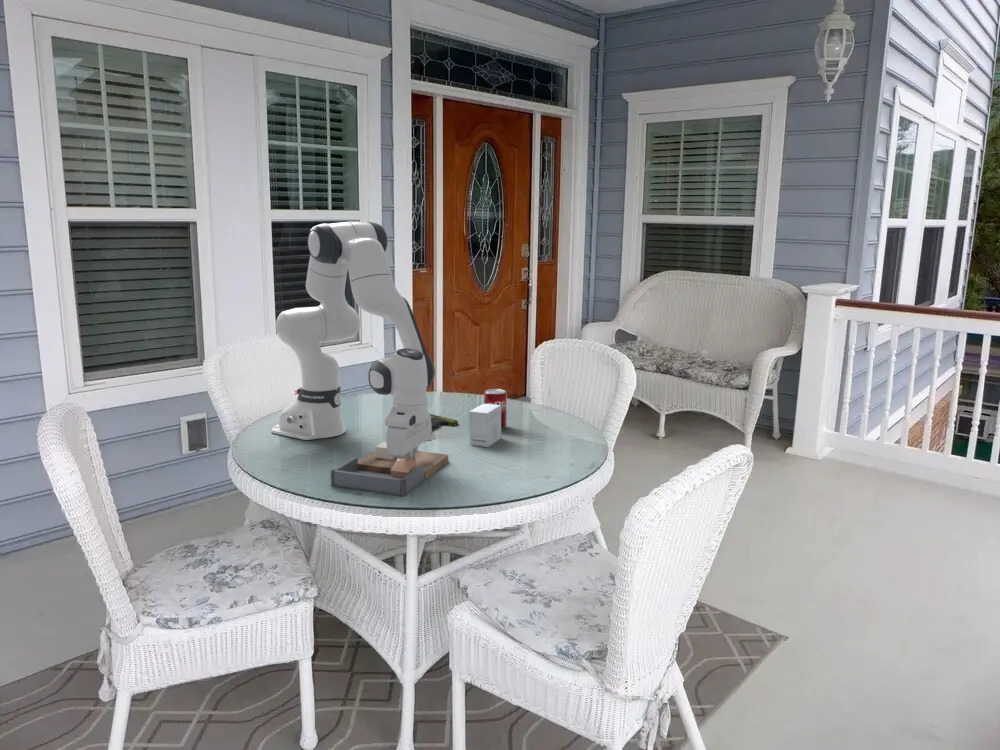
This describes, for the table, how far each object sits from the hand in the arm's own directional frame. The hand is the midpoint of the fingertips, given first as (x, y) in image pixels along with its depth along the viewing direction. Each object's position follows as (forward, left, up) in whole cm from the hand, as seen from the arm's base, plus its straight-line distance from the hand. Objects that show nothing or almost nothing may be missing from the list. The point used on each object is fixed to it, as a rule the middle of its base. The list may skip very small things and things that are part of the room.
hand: (410, 463), depth 203 cm
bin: (-5, -8, -3) cm, 10 cm away
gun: (-17, +48, -4) cm, 51 cm away
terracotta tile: (0, -3, -2) cm, 4 cm away
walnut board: (-5, +6, -3) cm, 8 cm away
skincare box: (+8, +36, -4) cm, 37 cm away
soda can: (+6, +51, -3) cm, 51 cm away
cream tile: (-10, +7, -1) cm, 12 cm away
